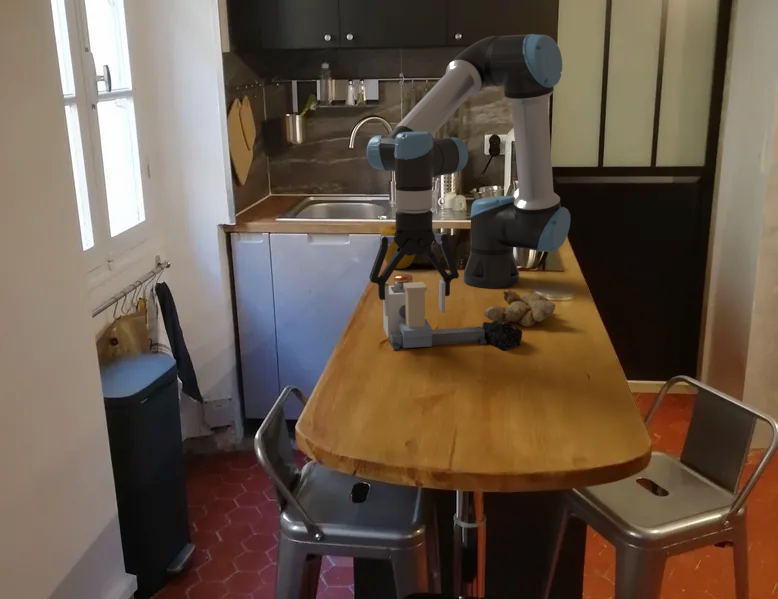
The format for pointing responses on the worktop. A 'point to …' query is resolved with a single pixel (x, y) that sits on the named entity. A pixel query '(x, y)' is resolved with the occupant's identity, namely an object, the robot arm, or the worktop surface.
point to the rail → (446, 336)
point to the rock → (502, 334)
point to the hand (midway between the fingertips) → (414, 312)
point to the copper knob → (401, 282)
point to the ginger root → (521, 309)
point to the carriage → (415, 317)
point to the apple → (391, 249)
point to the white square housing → (394, 311)
